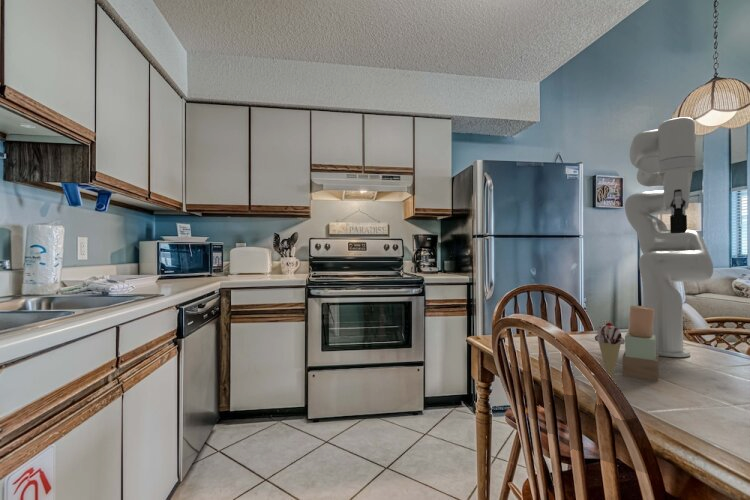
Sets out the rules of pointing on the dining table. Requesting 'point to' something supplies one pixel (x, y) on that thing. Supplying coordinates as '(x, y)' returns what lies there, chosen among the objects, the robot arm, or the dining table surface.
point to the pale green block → (640, 347)
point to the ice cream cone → (609, 346)
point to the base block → (641, 368)
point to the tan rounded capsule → (641, 321)
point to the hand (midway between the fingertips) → (678, 232)
